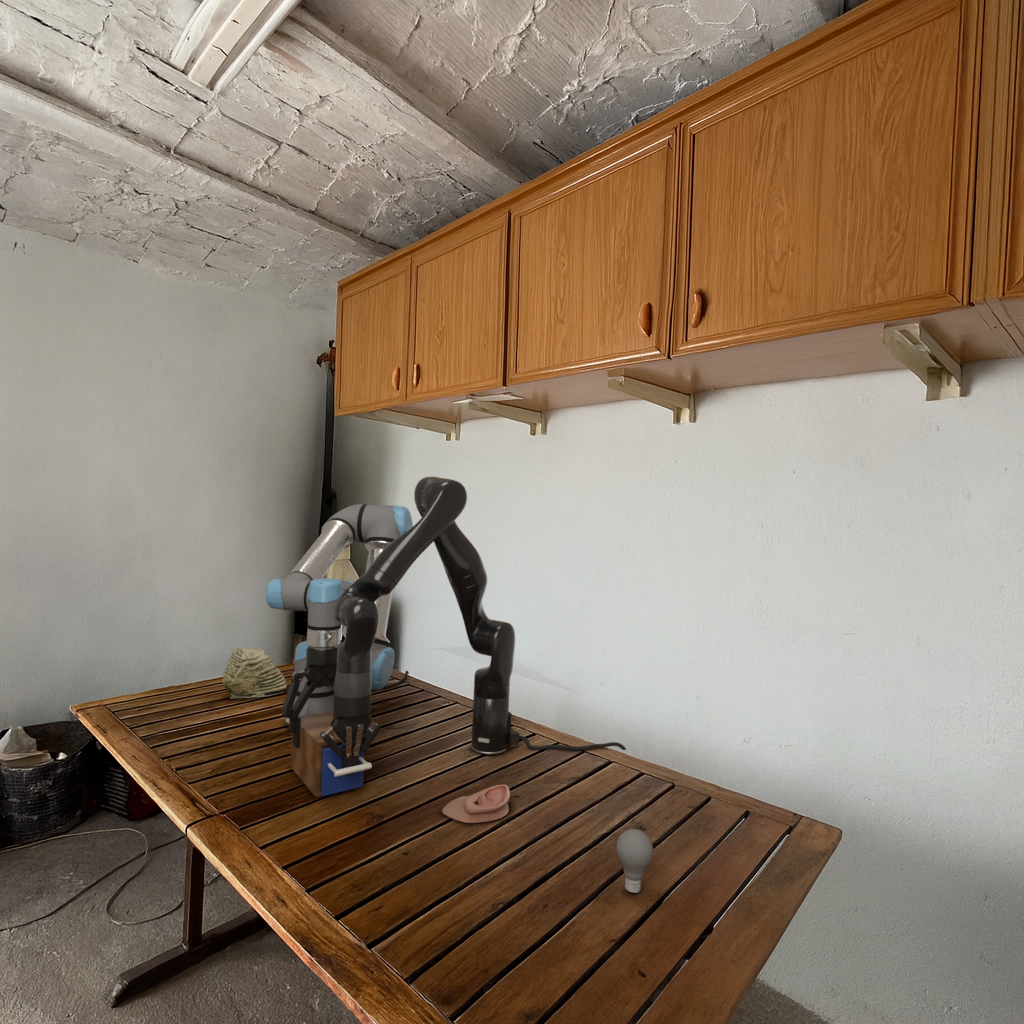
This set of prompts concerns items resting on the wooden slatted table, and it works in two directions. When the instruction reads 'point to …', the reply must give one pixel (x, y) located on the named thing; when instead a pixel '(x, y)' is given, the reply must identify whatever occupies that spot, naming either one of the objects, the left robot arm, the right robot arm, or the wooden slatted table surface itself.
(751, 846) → the wooden slatted table surface
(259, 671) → the fossil
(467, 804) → the anatomical model
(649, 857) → the light bulb
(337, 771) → the drawer
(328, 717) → the cabinet
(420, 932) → the wooden slatted table surface
